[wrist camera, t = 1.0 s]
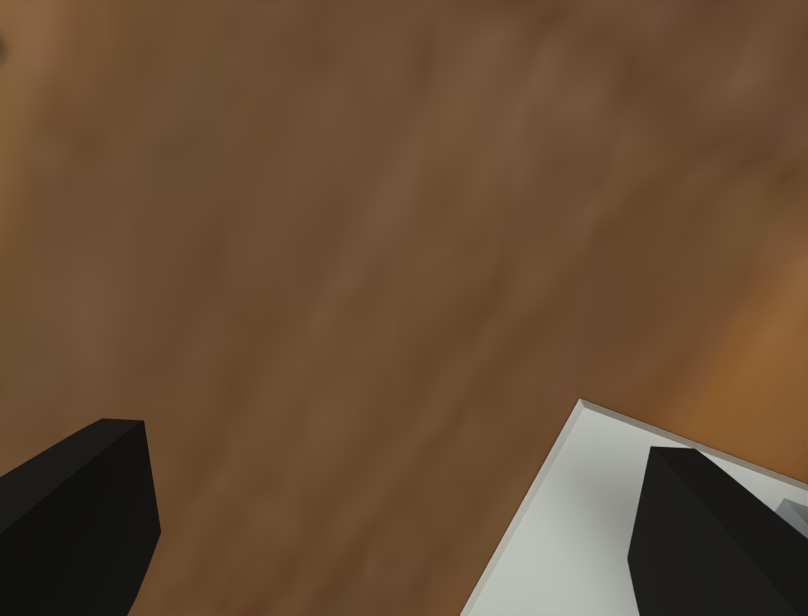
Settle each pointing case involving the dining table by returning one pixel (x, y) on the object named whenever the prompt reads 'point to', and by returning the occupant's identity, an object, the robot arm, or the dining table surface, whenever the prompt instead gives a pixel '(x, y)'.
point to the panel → (597, 519)
